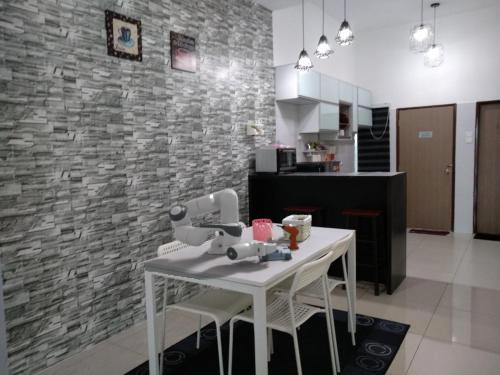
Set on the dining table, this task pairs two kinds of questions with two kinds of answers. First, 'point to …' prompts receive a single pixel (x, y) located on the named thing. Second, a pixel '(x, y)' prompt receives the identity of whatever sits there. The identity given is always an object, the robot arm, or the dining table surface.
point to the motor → (271, 241)
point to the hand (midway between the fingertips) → (270, 243)
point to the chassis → (278, 255)
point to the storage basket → (298, 226)
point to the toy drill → (291, 236)
